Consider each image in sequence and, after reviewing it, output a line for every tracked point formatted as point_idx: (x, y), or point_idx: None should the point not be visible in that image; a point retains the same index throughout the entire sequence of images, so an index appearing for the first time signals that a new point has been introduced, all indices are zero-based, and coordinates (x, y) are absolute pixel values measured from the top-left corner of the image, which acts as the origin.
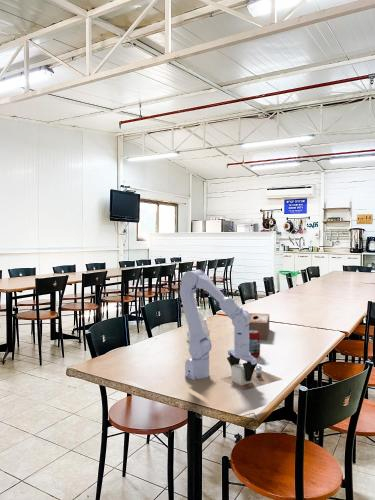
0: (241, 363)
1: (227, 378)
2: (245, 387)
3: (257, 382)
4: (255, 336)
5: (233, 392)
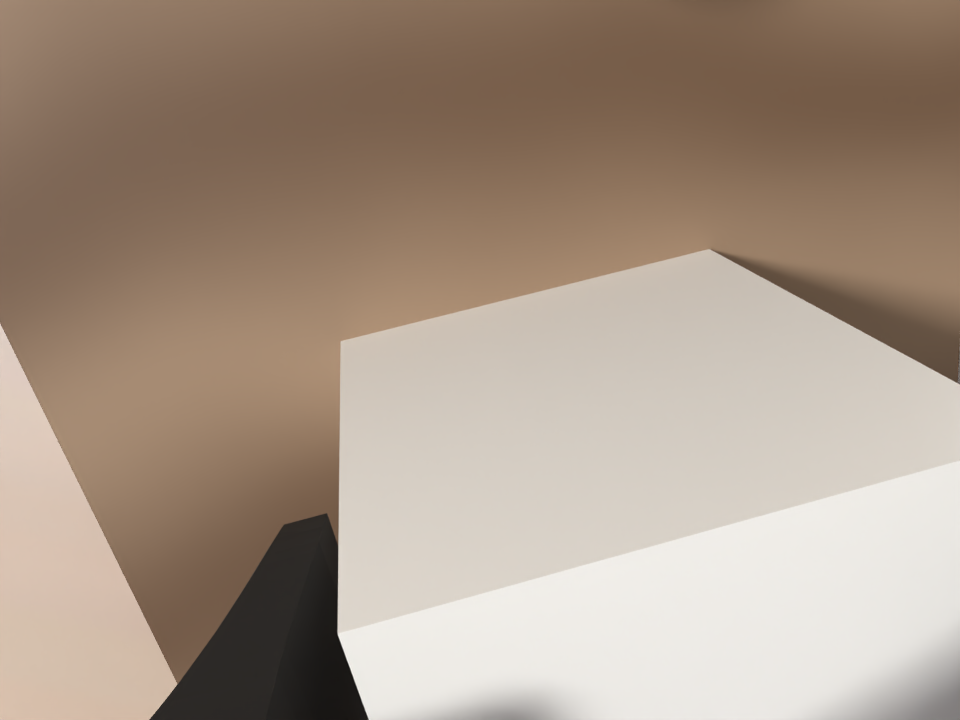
0: (395, 695)
1: None
2: None
3: (788, 122)
4: None
5: None
